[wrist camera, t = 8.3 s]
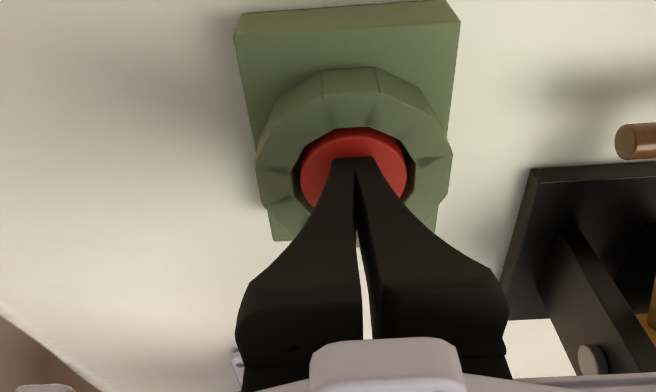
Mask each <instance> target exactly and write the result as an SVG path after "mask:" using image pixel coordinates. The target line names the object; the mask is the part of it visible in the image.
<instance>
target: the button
mask: <svg viewBox="0 0 656 392" xmlns="http://www.w3.org/2000/svg"><path fill="white" fill-rule="evenodd" d="M365 156H372V157H373V158H374V159H375V161H376V163H377V165H378V167H379V169H380V170H381V172H382V174H383V175H384V177H385V179H386V180H387V182H388V183H389V185H390V186H391V187H392V189H393V190H394V191H395V193H396V194H397V195H398V197H399V198H400V196H401V195H402V193H403V191H404V189H405V185H406V181H407V170H406V165H405V161H404V157H403V153H402V149H401V146H400V142H399V139H396V138H394V137H392V136H389V135H387V134H385V133H383V132H380V131H378V130H376V129H373V128H371V127H353V128H337V129H333V130H332V131H330V132H328V133H326V134H325V135H323V136H321V137H320V138H318V139H316V140H314V141H313V142H311V143H309V144H307V145H306V146H305V147H304V149H303V150H302V153H301V173H300V184H301V189H302V192H303V194H304V196H305V198H306V199H307V201H308V202H309V203H310V205H312V206H313V207H315V206H316V204H317V202H318V200H319V198H320V196H321V193H322V191H323V189H324V186H325V184H326V181H327V178H328V175H329V172H330V168H331V161H332V160H334V159H335V158H349V157H365Z"/></svg>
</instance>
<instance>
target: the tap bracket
mask: <svg viewBox="0 0 656 392" xmlns="http://www.w3.org/2000/svg"><path fill="white" fill-rule="evenodd" d="M655 275H656V162H644V163H627V164H610V165H593V166H576V167H559V168H542V169H531V171H530V175H529V178H528V182H527V186H526V189H525V193H524V196H523V200H522V204H521V207H520V211H519V214H518V218H517V222H516V225H515V229H514V232H513V236H512V240H511V243H510V247H509V250H508V254H507V258H506V261H505V265H504V268H503V272H502V276H501V279H500V283H499V284H500V286H501V288H502V289H503V291H504V293H505V296H506V298H507V301H508V304H509V307H510V312H509V318H508V320H528V319H547V318H550V319H551V321H552V323H553V325H554V327H555V330H556V332H557V334H558V336H559V338H560V340H561V343H562V345H563V347H564V349H565V351H566V353H567V355H568V358H569V360H570V362H571V364H572V366H573V368H574V370H575V373H576V375H577V376H585V375H606V374H628V373H650V372H656V347H655V345H654V344H653V342H652V341H651V339H650V338H649V336H648V334H647V333H646V331H645V330H644V328H643V327H642V325H641V324H640V322H639V320H638V319H637V317H636V316H635V314H647V313H649V307H650V302H651V296H652V291H653V285H654V280H655Z"/></svg>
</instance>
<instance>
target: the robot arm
mask: <svg viewBox="0 0 656 392" xmlns="http://www.w3.org/2000/svg"><path fill="white" fill-rule="evenodd" d="M356 231H357V234H358V240H359V245H360V250H361V255H362V260H363V265H364V270H365V275H366V280H367V287H368V293H369V304H370V315H371V326H372V337H373V339H370V340H363V315H362V296H361V286H360V278H359V271H358V263H357V254H356ZM509 312H510V307H509V304H508V301H507V298H506V296H505V293H504V291H503V289H502V288H501V286H500V284H499V282H498V281H497V279H496V277H495V276H494V274H493V272H492V271H491V269H490V268H488V267H486V266H484V265H482V264H480V263H478V262H477V261H475V260H473V259H471V258H469V257H467V256H466V255H464V254H462V253H461V252H459V251H458V250H456V249H455V248H453V247H451V246H450V245H449V244H447V243H446V242H445V241H443V240H442V239H441V238H439V237H438V236H437V235H435V234H434V233H433V232H432V231H431V230H430V229H428V228H427V227H426V226H425V225H424V224H423V223H422V222H421V221H420V220H419V219H418V218H417V217H416V216H415V215H414V214H413V213H412V212H411V211H410V210H409V209H408V207H407V206H406V205H405V204H404V203H403V202H402V200H401V199H400V198H399V197H398V195H397V194H396V193H395V191H394V190H393V189H392V187H391V186H390V185H389V183H388V182H387V180H386V179H385V177H384V175H383V174H382V172H381V170H380V169H379V167H378V165H377V163H376V161H375V159H374V158H373V157H372V156H365V157H349V158H335V159H334V160H332V161H331V168H330V172H329V175H328V178H327V181H326V184H325V186H324V189H323V191H322V193H321V196H320V198H319V200H318V202H317V204H316V206H315V207H314V209H313V211H312V213H311V215H310V216H309V218H308V220H307V221H306V223H305V224H304V226H303V227H302V229H301V230H300V232H299V233H298V234H297V236H296V237H295V238H294V240H293V241H292V242H291V243H290V245H289V246H288V247H287V248H286V249H285V250H284V251H283V252H282V253H281V254H280V256H279V257H278V258H277V259H276V260H275V261H274V262H273V263H272V264H271V265H270V266H269V267H268V268H266V269H265V270H264V271H263V272H262V273H261V274H259V275H258V276H257V277H256V278H255V279H253V280H252V281H251V282H250V283H249V285H248V287H247V289H246V292H245V294H244V297H243V299H242V302H241V305H240V309H239V312H238V317H237V323H236V329H235V340H236V344H237V347H238V349H239V352H234V353H233V354H232V356H231V362H232V365H233V368H234V370H235V373H236V376H237V378H238V381H239V384H240V386H241V391H239V392H656V372H650V373H628V374H606V375H585V376H563V377H542V378H520V379H512V376H511V373H510V370H509V367H508V364H507V362H506V359H505V356H504V355H506V347H505V344H504V341H503V339H502V337H503V333H504V330H505V327H506V324H507V321H508V318H509ZM15 392H76V391H75V390H74V389H73V388H71V387H69V386H66V385H64V384H42V385H22V386H19V387H18V388H17V389H16V391H15Z"/></svg>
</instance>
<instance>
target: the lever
mask: <svg viewBox="0 0 656 392" xmlns="http://www.w3.org/2000/svg"><path fill="white" fill-rule="evenodd" d="M615 149H616V152H617V154H618V155H619V157H621V158H622V159H625V160H633V159H650V158H656V123H641V124H626V125H623V126H622V127H620V128H619V130H618V131H617V133H616V136H615ZM635 316H636V317H637V319H638V320H639V322H640V324H641V325H642V327H643V328H644V330H645V331H646V333H647V334H648V336H649V338H650V339H651V341H652V342H653V344H654V345H655V347H656V275H655V280H654V285H653V291H652V296H651V302H650V307H649V313H647V314H635Z"/></svg>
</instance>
